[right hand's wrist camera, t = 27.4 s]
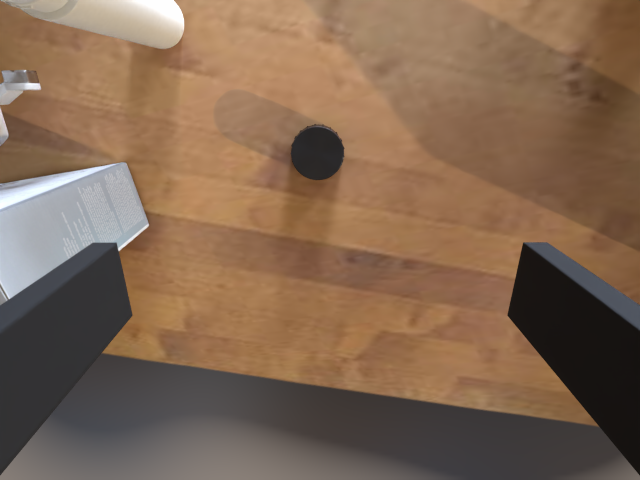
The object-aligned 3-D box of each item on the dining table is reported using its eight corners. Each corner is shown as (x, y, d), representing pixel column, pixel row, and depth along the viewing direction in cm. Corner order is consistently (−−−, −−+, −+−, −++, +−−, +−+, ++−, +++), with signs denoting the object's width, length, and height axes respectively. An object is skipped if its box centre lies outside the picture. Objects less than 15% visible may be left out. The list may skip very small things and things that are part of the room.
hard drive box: (23, 249, 43) (-201, 370, 25) (-10, 184, 40) (-291, 266, 22) (153, 227, 42) (22, 335, 24) (128, 158, 39) (-43, 221, 21)
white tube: (129, -6, 34) (-56, -99, 17) (179, -9, 34) (42, -103, 17) (140, 50, 36) (-19, 15, 19) (188, 48, 36) (70, 11, 19)
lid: (341, 177, 40) (342, 182, 38) (291, 175, 40) (289, 179, 38) (345, 125, 38) (346, 127, 36) (292, 122, 38) (291, 124, 36)
